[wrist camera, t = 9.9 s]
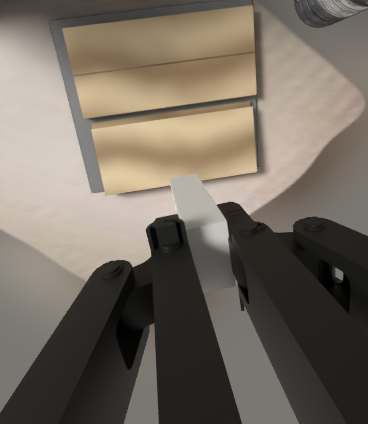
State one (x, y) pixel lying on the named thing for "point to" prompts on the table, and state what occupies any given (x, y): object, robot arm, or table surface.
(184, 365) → the robot arm
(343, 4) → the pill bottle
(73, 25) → the underlay mat
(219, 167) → the board
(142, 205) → the table surface
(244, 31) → the floor board
